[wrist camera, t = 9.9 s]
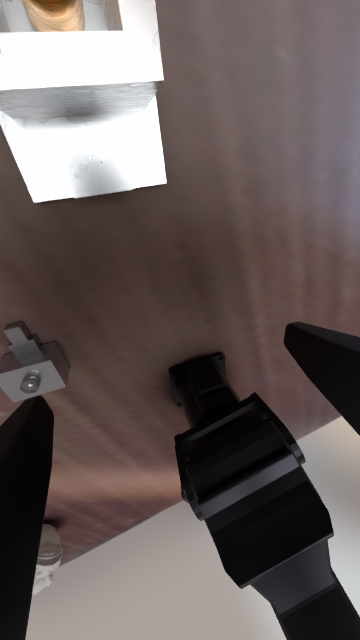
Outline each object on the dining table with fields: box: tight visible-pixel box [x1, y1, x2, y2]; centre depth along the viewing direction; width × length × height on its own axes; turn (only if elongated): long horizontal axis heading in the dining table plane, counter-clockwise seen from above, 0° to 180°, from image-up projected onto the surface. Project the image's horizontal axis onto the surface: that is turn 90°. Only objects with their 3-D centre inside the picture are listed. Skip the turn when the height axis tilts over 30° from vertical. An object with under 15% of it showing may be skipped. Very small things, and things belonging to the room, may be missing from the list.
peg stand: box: [0, 0, 167, 203], centre depth 9 cm, size 10×8×6 cm
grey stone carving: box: [32, 524, 62, 596], centre depth 30 cm, size 6×7×7 cm
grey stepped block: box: [0, 321, 70, 402], centre depth 17 cm, size 6×4×3 cm
